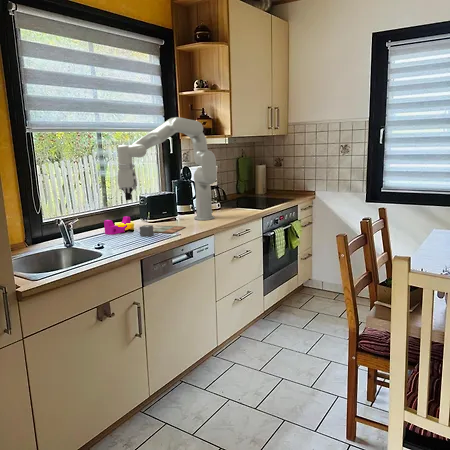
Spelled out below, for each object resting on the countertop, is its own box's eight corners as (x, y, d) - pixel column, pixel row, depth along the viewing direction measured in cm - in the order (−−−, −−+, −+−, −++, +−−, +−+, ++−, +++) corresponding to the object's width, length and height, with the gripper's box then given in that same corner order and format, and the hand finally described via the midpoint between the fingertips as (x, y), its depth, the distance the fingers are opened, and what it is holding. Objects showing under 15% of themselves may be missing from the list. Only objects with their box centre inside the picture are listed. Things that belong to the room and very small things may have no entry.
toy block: (112, 235, 228) (110, 221, 226) (105, 233, 232) (103, 220, 230) (133, 230, 239) (133, 217, 238) (126, 229, 243) (125, 216, 242)
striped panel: (157, 226, 246) (156, 225, 246) (185, 227, 240) (185, 226, 240) (141, 232, 231) (141, 231, 231) (172, 234, 224) (171, 232, 224)
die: (145, 234, 227) (144, 224, 226) (153, 234, 225) (152, 225, 224) (140, 236, 222) (139, 226, 221) (148, 236, 220) (148, 227, 219)
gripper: (141, 166, 237) (143, 199, 240) (118, 167, 242) (121, 198, 246) (133, 167, 230) (136, 201, 234) (110, 167, 235) (113, 200, 239)
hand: (128, 199), depth 240 cm, fingers closed
